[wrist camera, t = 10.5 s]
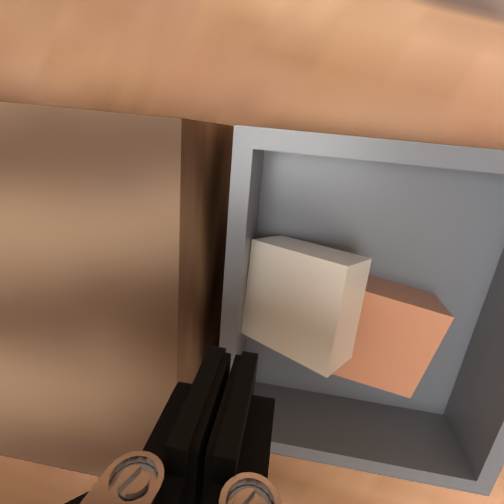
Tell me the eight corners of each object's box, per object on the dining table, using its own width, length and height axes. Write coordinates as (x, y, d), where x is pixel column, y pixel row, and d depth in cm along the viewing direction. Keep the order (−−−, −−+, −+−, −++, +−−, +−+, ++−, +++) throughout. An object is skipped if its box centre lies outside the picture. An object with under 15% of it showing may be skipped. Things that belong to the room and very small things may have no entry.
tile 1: (316, 369, 18) (315, 342, 20) (410, 398, 17) (397, 367, 20) (350, 286, 16) (343, 267, 18) (454, 317, 16) (434, 293, 18)
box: (448, 417, 21) (488, 496, 17) (231, 378, 23) (212, 441, 18) (544, 155, 16) (644, 162, 11) (252, 128, 17) (234, 124, 13)
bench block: (217, 376, 23) (174, 493, 15) (4, 338, 25) (-128, 427, 17) (233, 126, 17) (181, 118, 10) (-40, 100, 19) (-261, 77, 12)
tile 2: (241, 332, 17) (270, 320, 19) (326, 378, 14) (351, 357, 16) (251, 239, 16) (281, 235, 18) (348, 266, 13) (371, 258, 15)
